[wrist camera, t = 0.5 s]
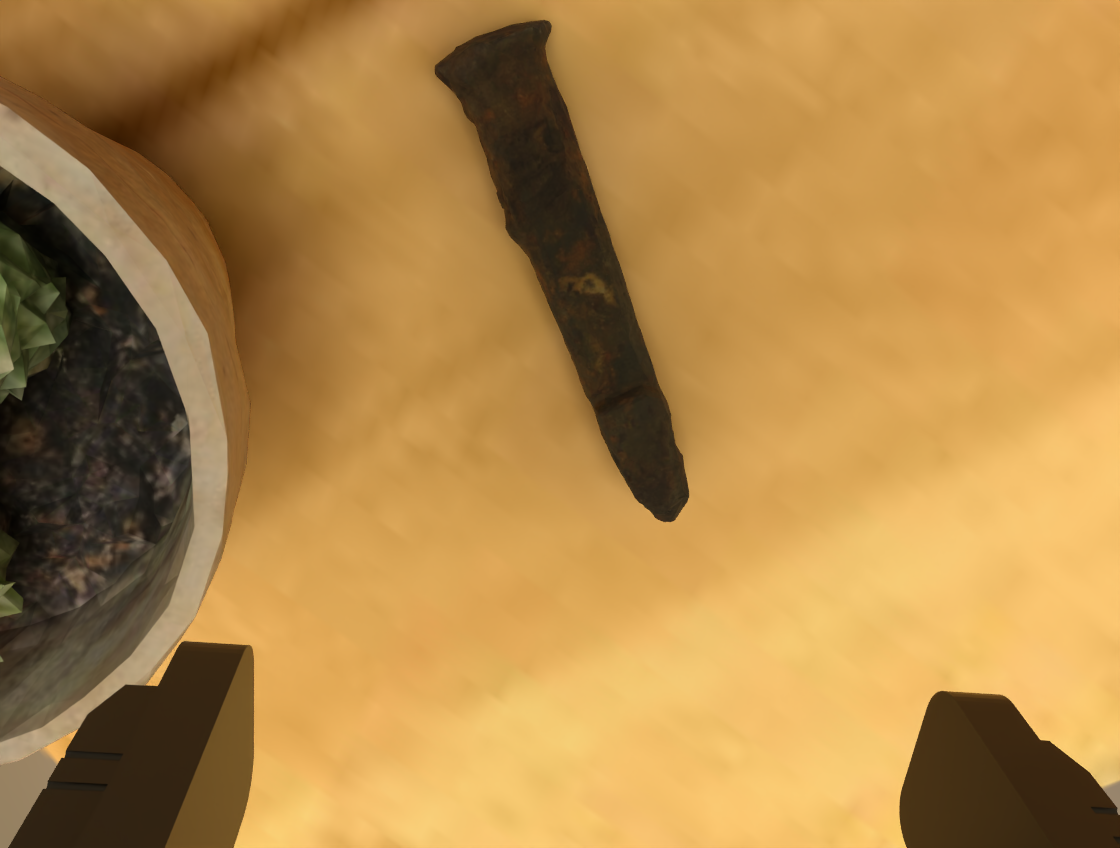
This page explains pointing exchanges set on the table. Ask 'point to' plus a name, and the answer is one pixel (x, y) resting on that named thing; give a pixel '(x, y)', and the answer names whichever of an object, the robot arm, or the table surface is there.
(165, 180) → the potted plant
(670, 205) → the table surface
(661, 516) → the hand tool
